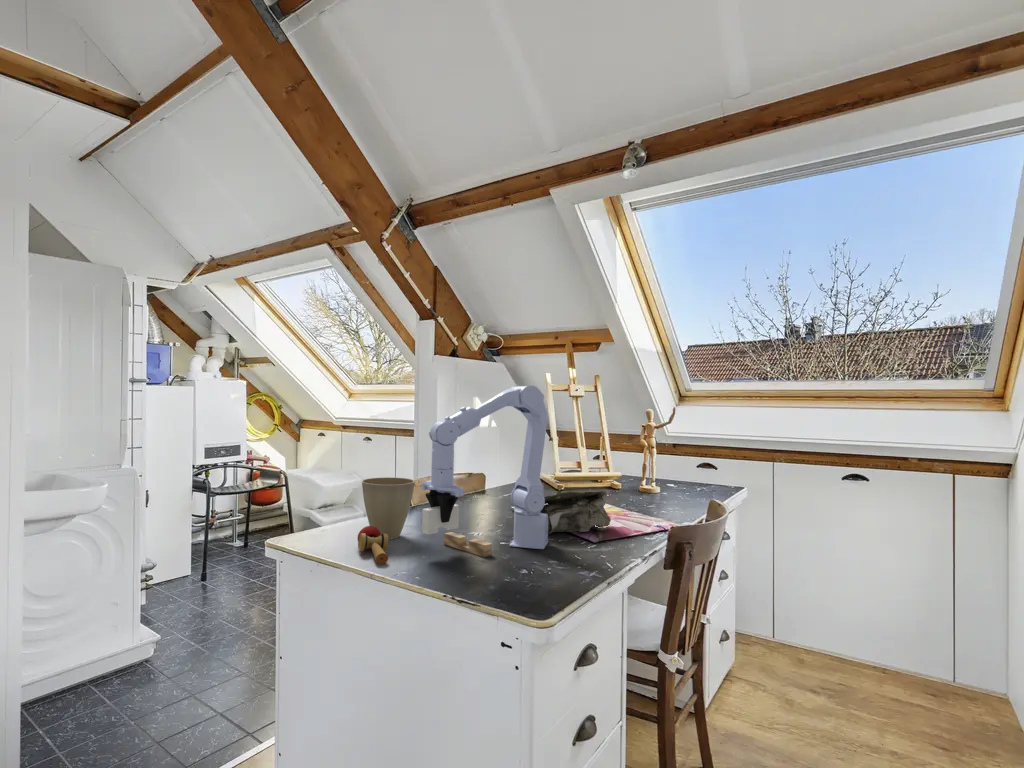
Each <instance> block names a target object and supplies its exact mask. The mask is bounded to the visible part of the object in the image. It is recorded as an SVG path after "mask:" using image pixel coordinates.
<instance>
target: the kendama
mask: <svg viewBox="0 0 1024 768" xmlns="http://www.w3.org/2000/svg"><path fill="white" fill-rule="evenodd" d="M389 540H390V539H389V538H388V534H385V533H383V534H381V533H380V531H379V530H378V529H377V528H376V527H374V526H370V525H367V526H364V527H362V528H361V529H360V531H359V532H358V534H357V548H358V551H359V552H364V551H366V550H371V551H372V554H373V556H374V559H375V562H376V564H377V565H379V566H380V565H386V564H387V562H388V560H389V555H388V554H387V553H386V552H387V551H388V547H389Z"/></svg>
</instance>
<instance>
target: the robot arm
mask: <svg viewBox="0 0 1024 768" xmlns="http://www.w3.org/2000/svg"><path fill="white" fill-rule="evenodd" d="M544 399H545V395H544V393H543V392H542V391H541V389H539V388H538V387H537V386H535V385H530V384H529V385H514V386H512V387H511V388H507V389H504V390H503V391H502V392H499V393H498V394H496V395H494V396H493V397H492V398H490V399H487V400H486V401H485V402H483V403H482V404H480V405H479V406H478V405H477V406H476V407H475V408H474V407H471V406H467V407H466V406H462V407H461V408H459V411H458V412H457V413H455V414H453V415H451V416H445V417H444V421H437V422H435V423H434V424H432V426H431V427H430V430H429V432H428V437H429V438H430V440H431V441H432V442H431V443H432V445H431V446H432V447H431V471H430V472H431V477H430V478H431V479H430V481H422V482H421V490H423V491H425V490H427V491H429V492H426V493H425V497H426V499H427V501H428V503H429V506H430V508H431V507H437V506H440V512H441V522H442V523H445V522H449V520H450V516H451V512H452V509H453V507H454V504H456V502H458V499H459V498H460V497H464V495H465V494H464V492H465V489H464V487H459V486H457V485H455V484H454V471H455V470H454V469H455V443H456V442H457V440H458V437H459V438H460V437H461V436H463V435H465V434H466V433H468V432H471V431H472V430H473V429H475V428H477V427H479V426H480V424H481V420H482V419H483V418H486V417H488V416H489V415H492V414H493V413H496V412H498V411H499V410H501V409H504V408H506V407H512V408H514V409H516V410H517V411H519V412H521V414H522V415H523V416H524V417H525V419H526V420H527V423H526V425H527V426H526V434H525V440H524V447H523V453H522V460H521V461H522V462H521V470H520V474H519V475H520V476H519V477H518V478H516V480H515V484H514V487H513V489H512V491H511V493H510V501H511V504H512V505H513V506H514V511H513V512H514V513H513V516H514V517H513V540H512V541H511V542H510V543H509V547H511V548H525V549H535V550H544V549H545V548H546V546H547V545H548V543H549V535H548V515H547V514H543V513H540V511H541V510H542V509H543V507H544V505H546V504H545V498H544V497H545V494H544V485H543V482H542V480H541V478H540V477H541V471H542V463H543V457H544V456H543V455H544V449H545V441H546V433H547V427H548V426H547V425H548V418H549V416H548V415H549V414H548V411H547V408H546V404H545V401H544Z"/></svg>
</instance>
